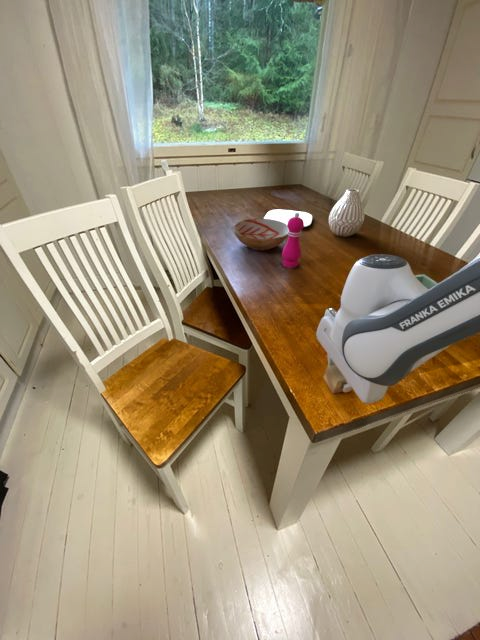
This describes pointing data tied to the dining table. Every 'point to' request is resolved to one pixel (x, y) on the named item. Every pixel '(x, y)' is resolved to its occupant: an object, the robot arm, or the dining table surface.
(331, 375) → the block
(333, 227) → the vase
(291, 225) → the pepper mill
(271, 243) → the bowl
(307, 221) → the plate
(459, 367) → the dining table surface
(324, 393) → the dining table surface
